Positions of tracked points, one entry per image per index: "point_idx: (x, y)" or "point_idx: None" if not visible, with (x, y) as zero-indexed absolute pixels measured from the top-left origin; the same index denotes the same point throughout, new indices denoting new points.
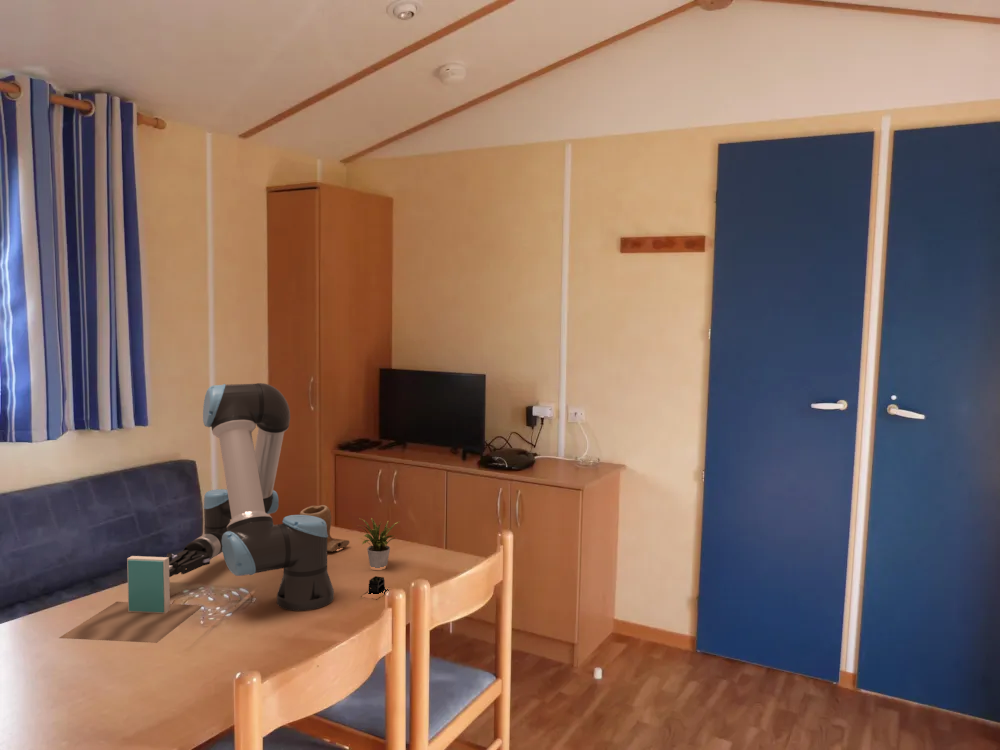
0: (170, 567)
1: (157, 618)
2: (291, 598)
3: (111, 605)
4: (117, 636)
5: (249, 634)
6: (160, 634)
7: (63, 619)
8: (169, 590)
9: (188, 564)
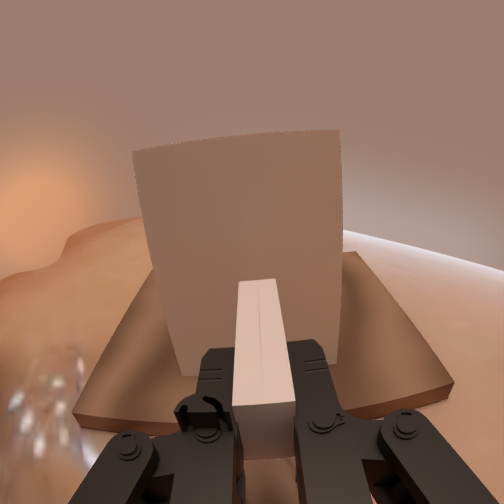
0: (233, 379)
1: None
2: None
3: (433, 357)
4: None
5: (5, 325)
6: (154, 285)
7: (474, 309)
8: (163, 308)
9: (89, 482)
